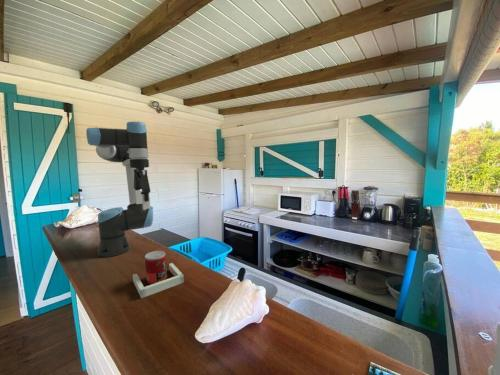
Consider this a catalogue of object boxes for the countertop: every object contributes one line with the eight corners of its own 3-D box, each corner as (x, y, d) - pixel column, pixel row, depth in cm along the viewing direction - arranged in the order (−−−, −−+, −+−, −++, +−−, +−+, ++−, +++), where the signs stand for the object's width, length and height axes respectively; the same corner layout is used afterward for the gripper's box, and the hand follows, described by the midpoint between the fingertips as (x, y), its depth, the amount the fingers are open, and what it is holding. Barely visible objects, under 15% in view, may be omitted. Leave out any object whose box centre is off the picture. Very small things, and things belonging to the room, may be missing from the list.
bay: (133, 281, 89) (132, 274, 88) (172, 269, 99) (172, 262, 98) (141, 298, 78) (140, 290, 78) (184, 282, 88) (183, 275, 88)
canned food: (160, 285, 86) (158, 259, 84) (142, 283, 87) (140, 257, 86) (170, 275, 93) (169, 251, 92) (154, 274, 95) (152, 249, 93)
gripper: (124, 158, 103) (128, 202, 105) (135, 158, 83) (140, 212, 86) (141, 158, 107) (145, 200, 110) (156, 158, 88) (159, 209, 91)
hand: (143, 206), depth 98 cm, fingers open, 13 cm apart
